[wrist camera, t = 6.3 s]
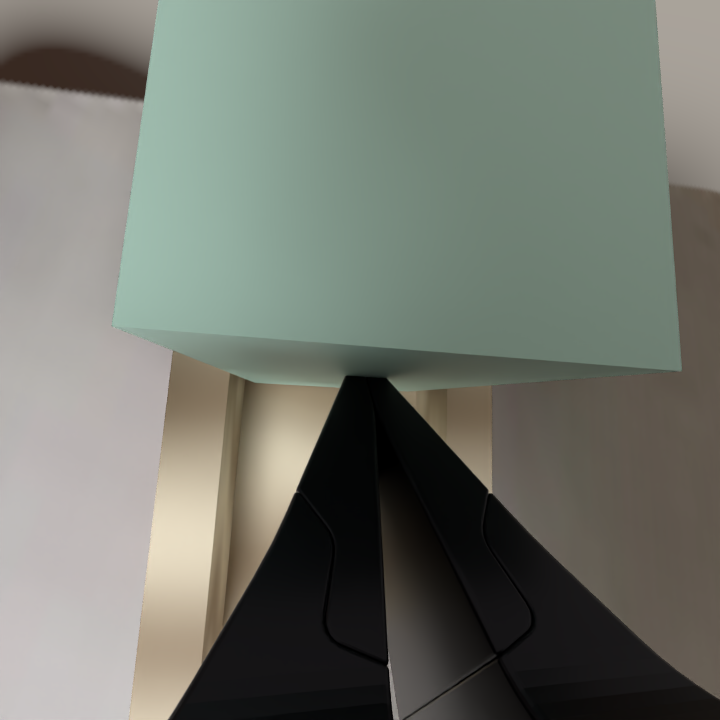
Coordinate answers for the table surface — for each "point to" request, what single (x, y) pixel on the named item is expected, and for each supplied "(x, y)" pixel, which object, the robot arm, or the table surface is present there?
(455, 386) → the sage block
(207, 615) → the chute
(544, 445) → the table surface
